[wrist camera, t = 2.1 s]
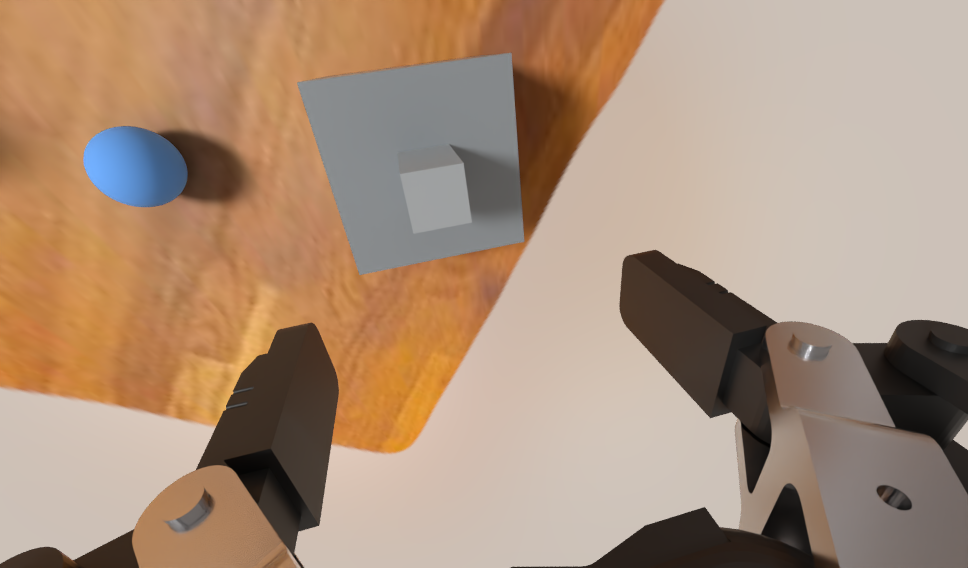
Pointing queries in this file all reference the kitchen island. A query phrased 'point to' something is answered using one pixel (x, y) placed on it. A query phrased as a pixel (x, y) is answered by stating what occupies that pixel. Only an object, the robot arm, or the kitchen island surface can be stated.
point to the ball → (135, 166)
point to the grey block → (421, 158)
